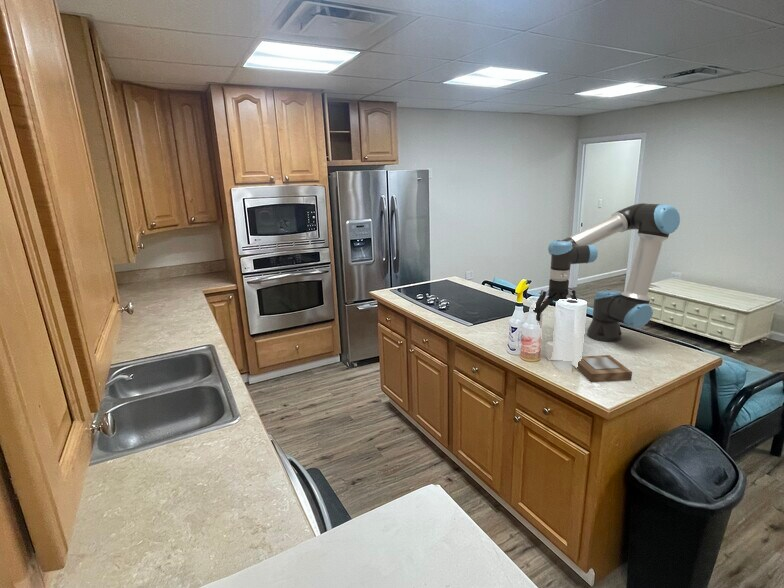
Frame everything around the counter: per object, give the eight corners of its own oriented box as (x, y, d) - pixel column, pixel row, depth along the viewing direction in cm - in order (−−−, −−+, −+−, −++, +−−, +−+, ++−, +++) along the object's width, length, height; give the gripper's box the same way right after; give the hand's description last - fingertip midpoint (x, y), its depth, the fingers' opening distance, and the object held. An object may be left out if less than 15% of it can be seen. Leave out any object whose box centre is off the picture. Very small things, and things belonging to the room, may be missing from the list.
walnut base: (608, 362, 178) (609, 353, 177) (631, 380, 163) (632, 370, 162) (571, 364, 177) (572, 355, 176) (590, 382, 162) (591, 372, 161)
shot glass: (547, 353, 189) (549, 339, 187) (563, 357, 184) (564, 342, 182) (542, 359, 183) (543, 344, 182) (558, 363, 179) (559, 347, 177)
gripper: (533, 282, 170) (529, 331, 176) (593, 280, 171) (587, 329, 177) (526, 277, 177) (523, 325, 183) (584, 276, 178) (579, 323, 184)
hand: (554, 327), depth 180 cm, fingers open, 13 cm apart
